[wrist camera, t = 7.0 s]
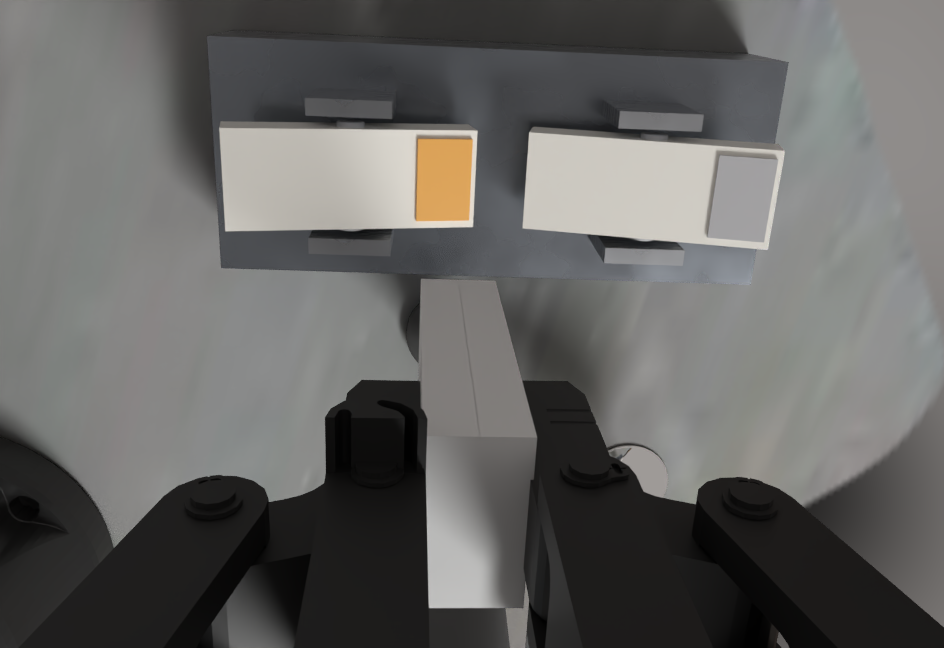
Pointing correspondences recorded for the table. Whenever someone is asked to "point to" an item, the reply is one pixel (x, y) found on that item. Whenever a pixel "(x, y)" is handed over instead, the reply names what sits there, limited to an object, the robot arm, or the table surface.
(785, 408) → the table surface
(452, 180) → the paddle
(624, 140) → the paddle
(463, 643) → the post
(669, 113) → the panel
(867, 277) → the table surface
